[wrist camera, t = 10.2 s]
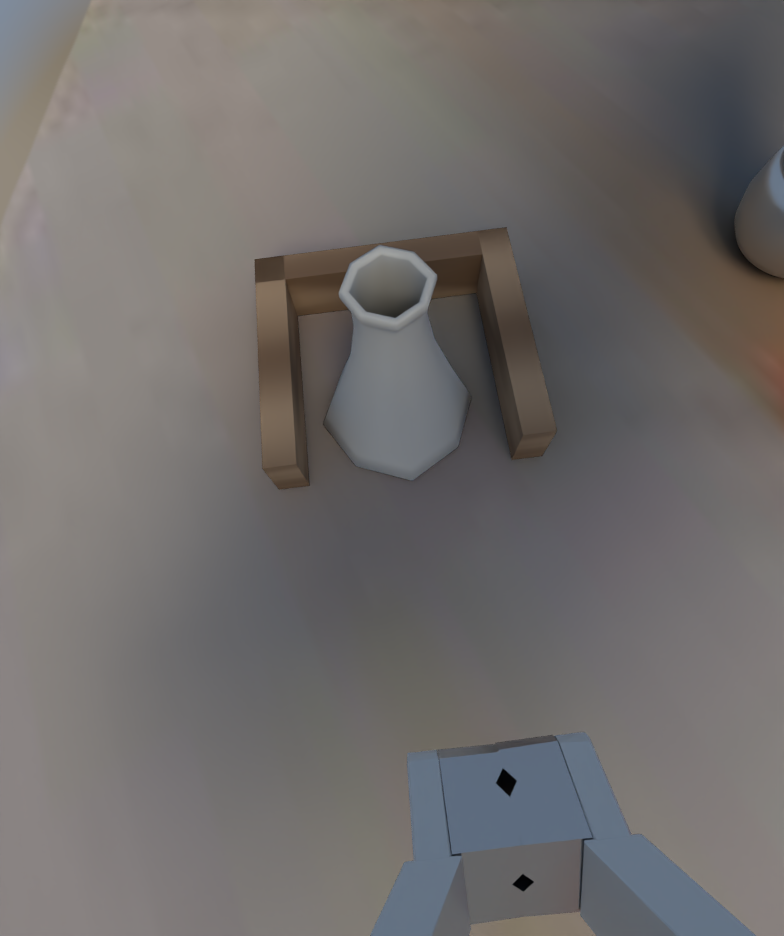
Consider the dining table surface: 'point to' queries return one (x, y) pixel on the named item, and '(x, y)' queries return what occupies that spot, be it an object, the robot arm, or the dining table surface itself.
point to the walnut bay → (458, 273)
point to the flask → (395, 370)
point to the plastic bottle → (763, 218)
